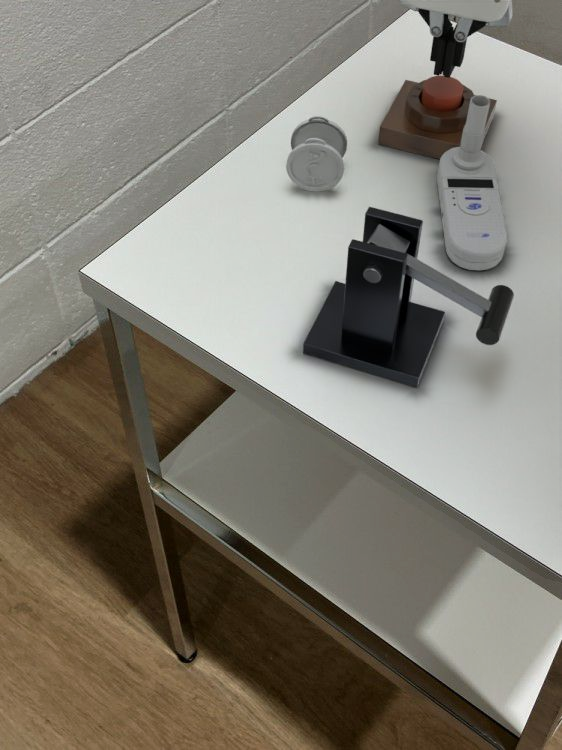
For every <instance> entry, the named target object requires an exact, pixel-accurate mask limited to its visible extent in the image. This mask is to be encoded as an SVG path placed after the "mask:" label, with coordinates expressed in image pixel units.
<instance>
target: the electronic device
mask: <svg viewBox="0 0 562 750" xmlns="http://www.w3.org/2000/svg"><path fill="white" fill-rule="evenodd" d="M475 95H476V94H475ZM489 106H490V100H489V97H487V96H485V95H482V94H477V95H476V96H473V97H472V98H471V100H470V105H469V110H468V115H467V120H466V125H465V126H464V128H463V133H462V139H461V145H460V147H455V148H452V149H450V150H448V151H446V152H445V153H444V154H443V155H442V157H441V158H440V159H439V164H438V168H437V169H438V170H437V175H436V181H437V189H438V190H437V191H438V198H439V207H440V213H441V222H442V230H443V235H444V247H445V251H446V254H447V256H448V258H449V259H450V260H451V262H452V263H454V264H455V265H457V266H458V267H460V268H462V269H466V270H469V271H485V270H490V269H492V268H495V267H496V266H498V264H500V262H501V261H502V260H503V257H504V254H505V251H506V246H507V243H508V234H507V229H506V223H505V217H504V212H503V207H502V202H501V201H502V200H501V195H500V189H499V184H498V178H497V173H496V168H495V164H494V161H493V159H492V157H491V156H490V155H489V154H488V153H487V152H485V151H483V150H482V147H483V143H484V141H483V139H484V140H485V138H484V134H485V124H486V119H487V115H488V110H489Z"/></svg>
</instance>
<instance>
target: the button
mask: <svg viewBox="0 0 562 750" xmlns="http://www.w3.org/2000/svg"><path fill="white" fill-rule="evenodd" d="M425 80H426V81H425V82H424V84H423V92H422V99H421V101H422V104H423V105H424V106H425V107H427V108H428V109H430V110H435V111H439V112H445V111H454V110H456V109H458V108H459V107H460V104H461V99H462V93H463V85H464V84H463V83H462V82H461V81H460V80H458V79H457V78H455V77H452V76H450V78H447V77H444V75H439V76H438V75H434V76H430V77H429V78H427V79H425ZM462 84H463V85H462Z"/></svg>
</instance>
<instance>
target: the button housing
mask: <svg viewBox="0 0 562 750" xmlns="http://www.w3.org/2000/svg"><path fill="white" fill-rule="evenodd" d="M426 80H427V79H423V80H422V81H420V82H418V81H413V80H408V79H405V80H404V82H403V84H402V86H401V87H400V89H399V91H398V93H397V95H395V98H394V100H393V102H392V104H391V105H390V107H389V109H388V111H387V113H385V114H386V115H385V116H384V118H383V120H382V121H381V123H380V125H379V129H378V140H377V141H378V142H377V144H378V145H379V146H382V147H387V148H391V149H397V150H400V151H404V152H409V153H413V154H417V155H421V156H424V157H429V158H433V159H438V160H440V158H441V157H442V155H443V154H444V153H445V152H446V151H448V150H450V149H452V148H455V147H460V145H461V139H462V133H463V128H464V126H465V125H466V120H467V115H468V110H469V105H470V100H471V98H472V97H473V96H476V94H474V92H473V90H472V89H471V88H469V87H467V86H466V85H464V84H463V83H461V84H462V85H463V93H462V99H461V104H460V107H459V108H458V109H456V110H454V111H445V112H439V111H435V110H430V109H428V108H427V107H425V106H424V105H423V104H422V101H421V99H422V92H423V84H424V82H425V81H426ZM488 98H489V97H488ZM489 100H490V106H489V110H488V115H487V119H486V124H485V134H484V139H483V142H484V140H485V139H486V136H487V134H488V131H489V129H490V127H491V124H492V123H493V119H494V116H495V113H496V108H497V102H498V100H497V99H494V98H491V97H490V98H489Z"/></svg>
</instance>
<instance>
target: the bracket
mask: <svg viewBox="0 0 562 750" xmlns="http://www.w3.org/2000/svg"><path fill="white" fill-rule="evenodd" d="M379 224H381V225H382V226H384V227H386V228H387V229H389V230H391V231H393V232H394V233H396V234H398V235H400V236H401V237H403V238H405V239H407V240H408V241H410V243H409V246H408V248H407V250H406V253H407V254H406V253H403V252H399V251H395V250H392V249H388V248H384V247H380V246H377V245H373V244H369V243H367V241H368V240H369V238H370V237H371V235H372V234H373V232H374V231H375V229H376V228H377V226H378V225H379ZM423 224H424V219H423V220H422V219H419V218H416V217H412V216H408V215H404V214H399V213H397V212H396V213H395V212H391V211H389V210H384V209H381V208H377V207H372V206H368V208H367V210H366V212H365V213H364V224H363V234H362V240H357V239H353V238H352V239H351V241H350V243H349V244H348V246H347V257H346V269H345V271H346V272H345V282H341V281H338V280H334V283H333V285H332V286H331V289H330V291H329V293H328V295H327V296H326V299H325V300H324V302H323V305H322V306H321V309H319V310H320V311H319V312H318V314H317V316H316V317H315V320H314V322H313V324H312V326H311V328H310V330H309V331H308V334H307V335H306V337H305V339H304V342H303V343H302V344H303V345H302V353H303V354H304V355H308V356H310V357H315V358H318V359H321V360H325V361H328V362H331V363H335V364H337V365H341V366H344V367H348V368H350V369H353V370H357V371H361V372H363V373H367V374H370V375H374V376H377V377H381V378H384V379H387V380H390V381H394V382H397V383H400V384H404V385H407V386H411V387H414V388H418V386H419V384H420V381H421V379H422V376H423V373H424V371H425V368H426V366H427V363H428V361H429V359H430V356H431V354H432V351H433V348H434V346H435V344H436V341H437V338H438V336H439V333H440V331H441V328H442V327H443V323H444V320H445V314H446V311H445V310H441V309H438V308H433V307H430V306H426V305H422V304H419V303H415V302H413V301H412V297H413V289H414V283H415V279H414V278H412V277H410V276H409V275H407V274H405V271H406V264H407V257H408V254H409V255H411V256H413V257H414V258H416V259H418V257H419V250H420V245H421V244H420V243H421V239H422V238H421V237H422V232H423V231H422V230H423Z"/></svg>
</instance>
